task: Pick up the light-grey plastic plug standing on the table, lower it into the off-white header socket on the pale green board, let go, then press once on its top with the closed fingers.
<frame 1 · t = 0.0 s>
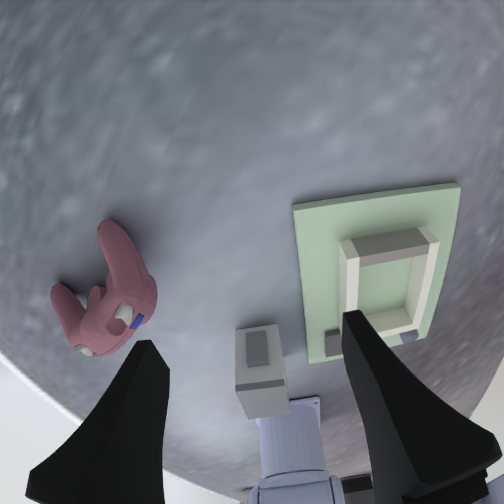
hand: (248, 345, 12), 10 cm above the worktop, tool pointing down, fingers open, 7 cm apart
cupcake: (256, 488, 64), on the worktop
plug: (260, 344, 27), on the worktop
board: (376, 284, 24), on the worktop
electronic device: (352, 477, 65), on the worktop
video game controller: (108, 273, 22), on the worktop
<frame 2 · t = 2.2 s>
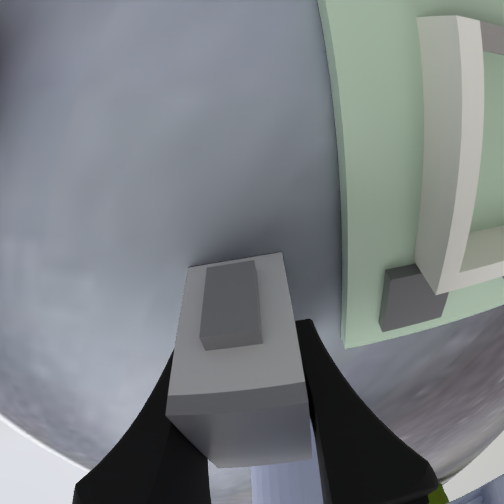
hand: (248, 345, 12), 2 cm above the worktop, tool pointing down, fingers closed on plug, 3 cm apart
plug: (246, 307, 13), on the worktop, touching gripper
board: (479, 165, 10), on the worktop
apple: (423, 485, 61), on the worktop
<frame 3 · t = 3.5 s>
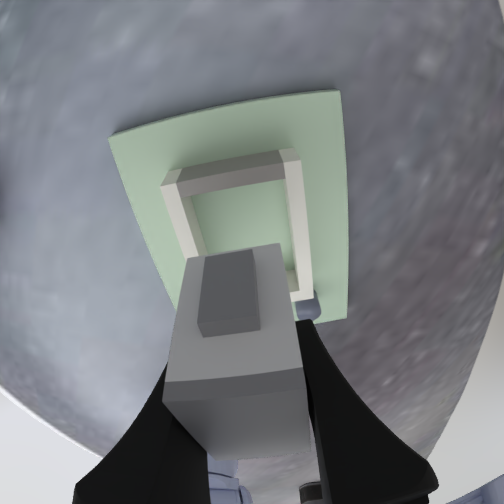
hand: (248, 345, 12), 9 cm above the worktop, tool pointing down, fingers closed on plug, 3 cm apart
plug: (245, 299, 13), point 7 cm above the worktop, touching gripper
board: (248, 236, 19), on the worktop
electronic device: (319, 483, 61), on the worktop
when the fingers open (4 cm above the worktop, at t = 4.8 s): plug stays where it is, resting on board.
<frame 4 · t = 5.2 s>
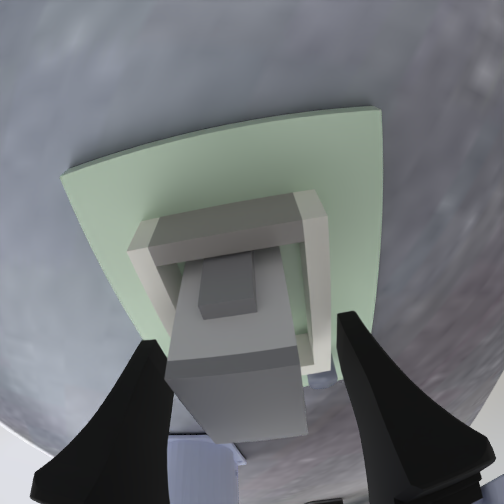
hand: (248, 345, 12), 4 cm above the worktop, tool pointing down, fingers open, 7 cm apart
plug: (244, 287, 14), point 1 cm above the worktop, touching board
board: (249, 295, 15), on the worktop
electronic device: (321, 501, 56), on the worktop
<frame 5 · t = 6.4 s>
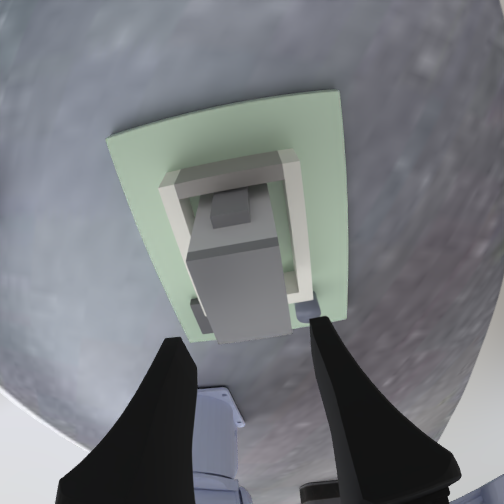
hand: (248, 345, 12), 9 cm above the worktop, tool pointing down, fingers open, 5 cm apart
plug: (242, 227, 18), point 1 cm above the worktop, touching board
board: (247, 237, 19), on the worktop
electronic device: (319, 483, 61), on the worktop
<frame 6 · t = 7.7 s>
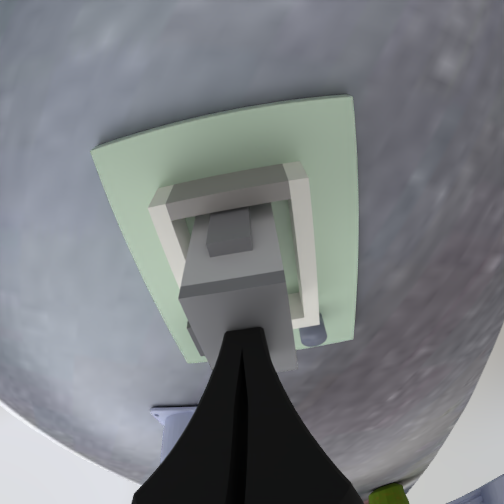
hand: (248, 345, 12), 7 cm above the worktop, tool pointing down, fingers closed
plug: (243, 247, 16), point 1 cm above the worktop, touching board
board: (248, 257, 18), on the worktop
apple: (384, 486, 69), on the worktop
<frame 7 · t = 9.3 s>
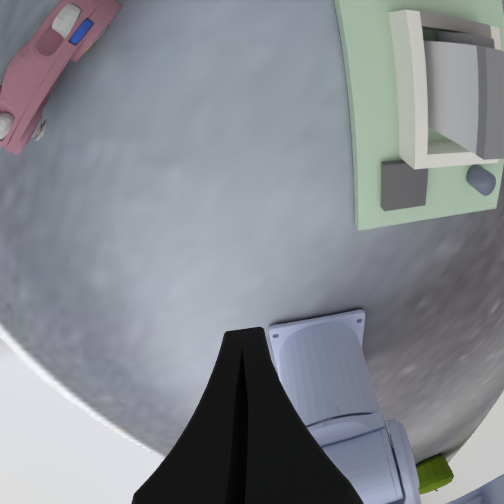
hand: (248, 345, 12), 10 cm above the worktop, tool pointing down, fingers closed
plug: (443, 82, 14), point 1 cm above the worktop, touching board
board: (437, 100, 15), on the worktop
apple: (427, 459, 67), on the worktop
video game controller: (65, 54, 13), on the worktop
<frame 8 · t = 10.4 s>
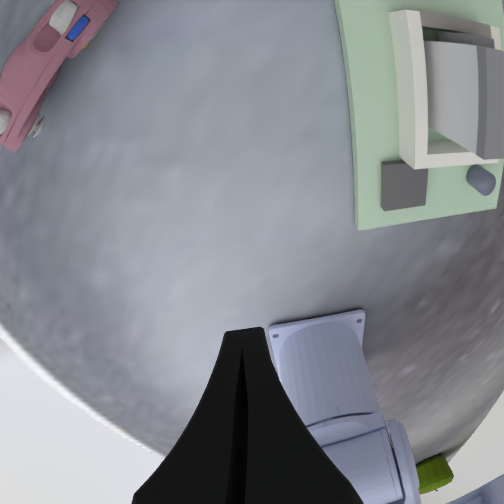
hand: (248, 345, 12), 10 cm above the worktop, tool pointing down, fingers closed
plug: (443, 82, 14), point 1 cm above the worktop, touching board
board: (437, 100, 15), on the worktop
apple: (427, 459, 67), on the worktop
video game controller: (63, 51, 13), on the worktop
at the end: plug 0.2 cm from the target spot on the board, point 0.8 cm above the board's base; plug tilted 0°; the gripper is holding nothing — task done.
